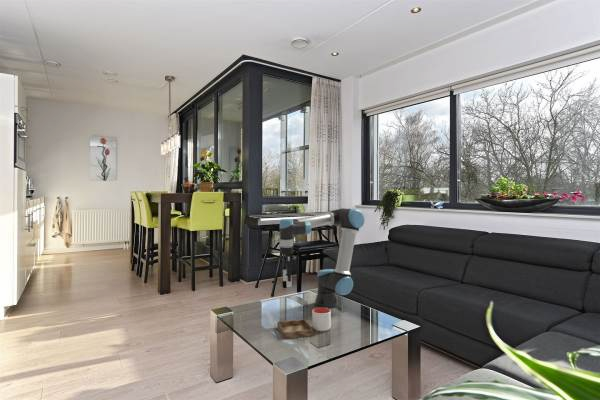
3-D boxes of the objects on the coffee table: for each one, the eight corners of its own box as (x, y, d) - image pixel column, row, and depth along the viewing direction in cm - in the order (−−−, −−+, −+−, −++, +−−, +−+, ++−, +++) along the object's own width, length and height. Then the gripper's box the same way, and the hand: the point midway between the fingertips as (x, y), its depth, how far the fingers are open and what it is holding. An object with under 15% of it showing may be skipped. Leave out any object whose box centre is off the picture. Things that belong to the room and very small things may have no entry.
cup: (329, 332, 188) (329, 314, 188) (311, 331, 190) (310, 313, 190) (331, 325, 198) (331, 308, 197) (314, 324, 200) (313, 307, 199)
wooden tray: (305, 324, 200) (305, 319, 200) (313, 335, 184) (313, 330, 184) (277, 327, 196) (277, 321, 196) (283, 338, 181) (282, 333, 181)
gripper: (277, 243, 212) (277, 278, 212) (283, 250, 187) (283, 290, 188) (289, 243, 213) (290, 277, 214) (297, 249, 189) (297, 289, 189)
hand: (287, 283), depth 201 cm, fingers open, 13 cm apart
